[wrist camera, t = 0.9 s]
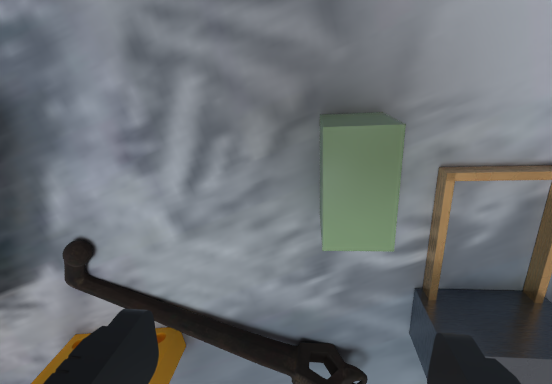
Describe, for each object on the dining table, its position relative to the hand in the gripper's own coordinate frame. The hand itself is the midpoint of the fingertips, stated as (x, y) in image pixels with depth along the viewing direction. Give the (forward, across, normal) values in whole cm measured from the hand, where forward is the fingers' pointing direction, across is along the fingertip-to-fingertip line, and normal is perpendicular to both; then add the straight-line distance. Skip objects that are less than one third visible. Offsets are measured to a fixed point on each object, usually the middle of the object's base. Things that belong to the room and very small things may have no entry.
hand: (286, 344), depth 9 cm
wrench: (+18, +8, +13) cm, 24 cm away
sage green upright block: (+17, -4, -1) cm, 18 cm away
